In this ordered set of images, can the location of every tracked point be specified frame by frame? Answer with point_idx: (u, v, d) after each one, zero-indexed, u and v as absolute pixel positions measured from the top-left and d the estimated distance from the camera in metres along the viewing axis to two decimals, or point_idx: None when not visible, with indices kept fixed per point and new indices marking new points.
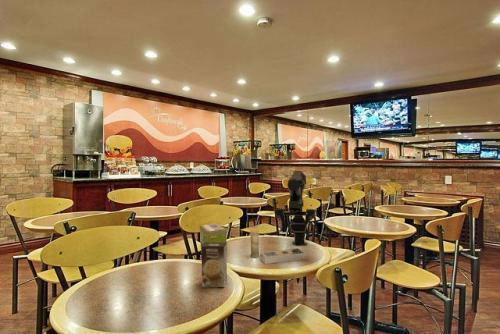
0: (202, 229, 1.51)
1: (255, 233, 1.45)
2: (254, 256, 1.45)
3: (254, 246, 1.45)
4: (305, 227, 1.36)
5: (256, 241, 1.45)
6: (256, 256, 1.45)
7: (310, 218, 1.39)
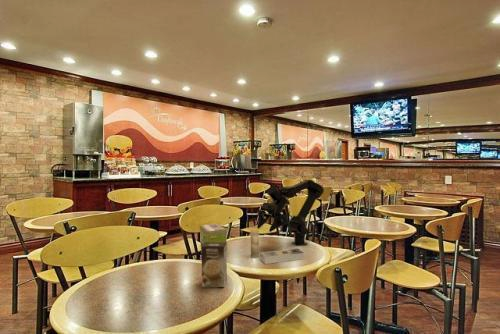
0: (202, 229, 1.51)
1: (255, 233, 1.45)
2: (254, 256, 1.45)
3: (254, 246, 1.45)
4: (270, 228, 1.47)
5: (256, 241, 1.45)
6: (256, 256, 1.45)
7: (280, 222, 1.48)
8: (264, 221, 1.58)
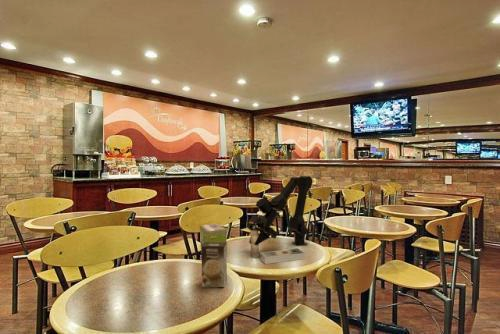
0: (202, 229, 1.51)
1: (255, 233, 1.45)
2: (254, 256, 1.45)
3: (254, 246, 1.45)
4: (256, 241, 1.45)
5: None
6: (256, 256, 1.45)
7: (266, 235, 1.45)
8: None
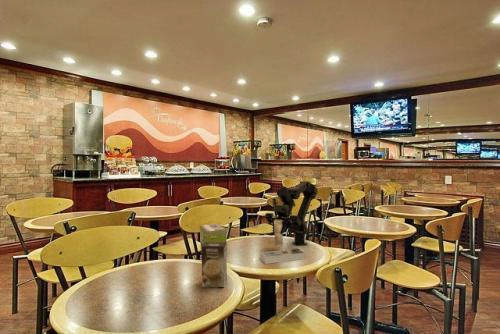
0: (202, 229, 1.51)
1: (280, 222, 1.46)
2: (279, 245, 1.46)
3: (280, 235, 1.46)
4: (282, 230, 1.45)
5: None
6: (281, 245, 1.46)
7: (290, 224, 1.48)
8: None
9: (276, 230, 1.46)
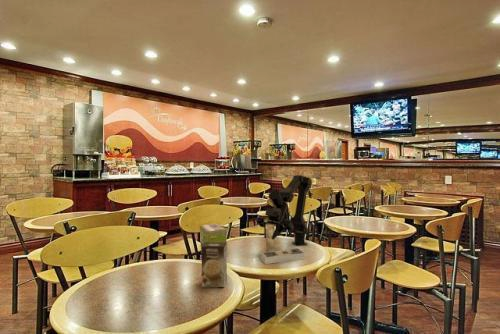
0: (202, 229, 1.51)
1: (272, 226, 1.39)
2: (271, 251, 1.39)
3: (271, 240, 1.39)
4: (273, 235, 1.39)
5: None
6: (273, 250, 1.40)
7: (282, 228, 1.41)
8: None
9: (268, 235, 1.39)
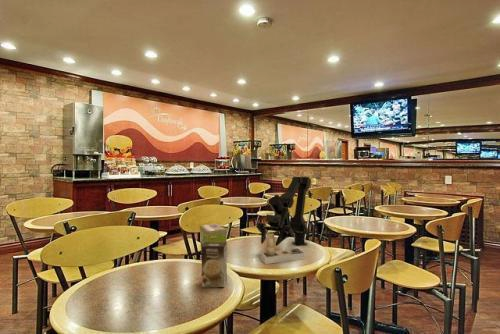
0: (202, 229, 1.51)
1: (272, 236, 1.39)
2: None
3: (272, 249, 1.39)
4: (277, 242, 1.38)
5: (273, 244, 1.40)
6: None
7: (285, 235, 1.40)
8: None
9: (268, 244, 1.39)
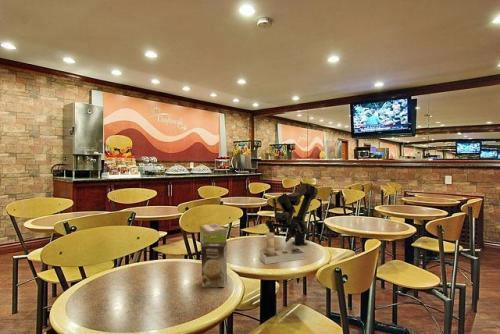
0: (202, 229, 1.51)
1: (272, 236, 1.39)
2: None
3: (272, 249, 1.39)
4: (286, 238, 1.44)
5: (273, 244, 1.40)
6: None
7: (294, 231, 1.47)
8: (273, 231, 1.54)
9: (268, 244, 1.39)
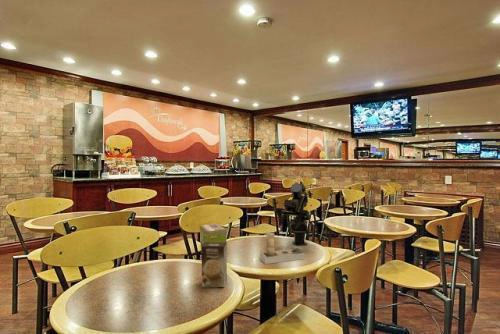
0: (202, 229, 1.51)
1: (272, 236, 1.39)
2: None
3: (272, 249, 1.39)
4: (296, 224, 1.48)
5: (273, 244, 1.40)
6: None
7: (304, 218, 1.51)
8: (283, 219, 1.58)
9: (268, 244, 1.39)
